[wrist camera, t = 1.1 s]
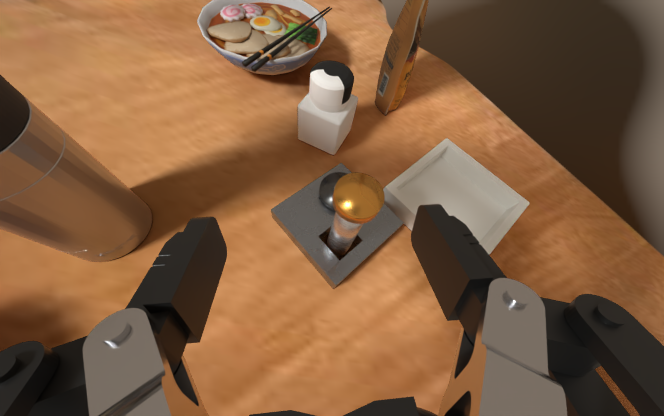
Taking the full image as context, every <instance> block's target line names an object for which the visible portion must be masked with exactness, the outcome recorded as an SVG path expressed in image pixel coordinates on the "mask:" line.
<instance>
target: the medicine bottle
mask: <svg viewBox="0 0 664 416" xmlns="http://www.w3.org/2000/svg"><path fill="white" fill-rule="evenodd" d="M353 82H354V76H353V73H352V72H351V70H350V69H349V68H348V67H347V66H346V65H344V64H342V63H340V62H336V61H322V62H319V63H317V64H316V65H315V66H314V67H313V68H312V69H311V71H310V89H309V93H308V94H307V95H306V96H305V98H304V99H303V100H302V101H301V102H300V103H299V105H298V139H299V140H301V141H303V142H305V143H308V144H310V145H312V146H314V147H316V148H318V149H321V150H323V151H325V152H327V153H329V154H332V155H335V154H336V152H337V150H338V149H339V147H340V146H341V144H342V143H343V141H344V139H345V138H346V136H347V135H348V133H349V132H350V130H351V126H352V122H353V118H354V114H355V110H356V106H357V102H358V97H357V96H354V95H352V94H351V91H352V86H353Z"/></svg>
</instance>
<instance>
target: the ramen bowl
mask: <svg viewBox="0 0 664 416" xmlns="http://www.w3.org/2000/svg"><path fill="white" fill-rule="evenodd" d="M329 8H330V7H328V8H326V9H325V10H323V11H322V12H320V13H319V11H318V10H317V9H316V8H314V7H313V6H311V5H309V4H308V3H306V2H305V1H303V0H212V1H211V2H210V3H208V4H207V5H206V6H204V7H203V8H202V11H201V13H200V15H199V18H198V20H197V22H198V24H199V27H200V29H201V32H202V34H203V36H204V38H205V39H206V40H207V41H208V42H209V44H210V45H211V46H212V47H213V48H214V49H216V50H217V51H218V52H219V53H220V54H221V55H222V56H224V57H225V58H226V59H227V60H229V61H230V62H231V63H232V64H234V65H235V66H237V67H239V68H242V69H244V70H247V71H250V72H253V73H257V74H267V75H276V74H282V73H288V72H292V71H294V70H296V69H298V68H299V67H301V66H303V65H305V64H306V63H307V62H309V61H310V59H311V58H312V57H313V56H314V54H315V53H316V52H317V50H318V49H319V47H320V46H321V44H322V43H323V41H324V40H325V38H326V36H327V22H326V20H325V19H324V18H323V16H324V15H325V14H326V13H327V12H329V11H330V10H331V9H332V8H331V9H329ZM327 9H329V10H328V11H326V10H327ZM324 11H326V12H325V13H324V14H322V13H323V12H324ZM321 14H322V15H321Z"/></svg>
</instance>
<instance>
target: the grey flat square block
mask: <svg viewBox="0 0 664 416" xmlns="http://www.w3.org/2000/svg"><path fill="white" fill-rule="evenodd" d="M349 173H351V172H350V171H349V170H348V169H347V168H346V167H345V166H344V165H343V164H342V163H340V164H339V165H337V166H336V167H334V168H333V169H331V170H330V171H328V172H327V173H325V174H324V175H322V176H321V177H319V178H318V179H316V180H315V181H313V182H312V183H310V184H309V185H307V186H306V187H304V188H303V189H301V190H300V191H298V192H297V193H295V194H294V195H292V196H291V197H289V198H288V199H286V200H285V201H283V202H282V203H280V204H279V205H277V206H276V207H274V208H273V209H271V213H272V217H273V219H274V220H275V221H276V222H277V223H278V225H279V226H280V227H281V228H282V229H283V230H284V232H285V233H286V234H287V235H288V236H289V238H290V239H291V240H292V241H293V242H294V243H295V245H296V246H297V247H298V248H299V249H300V250H301V252H302V253H303V254H304V255H305V256H306V258H307V259H308V260H309V261H310V262H311V263H312V265H313V266H314V267H315V268H316V269H317V271H318V272H319V273H320V274H321V275H322V276H323V278H324V279H325V280H326V281H327V282H328V283H329V285H330V286H331V287H332V288H333V289H334V288H335V287H336V286H337V285H338V284H340V283H341V282H342V281H343V280H344V279H345V278H346V277H347V276H348V275H349V274H350V273H351V272H353V271H354V270H355V269H356V268H357V267H358V266H359V265H360V264H361V263H362V262H363V261H364V260H366V259H367V258H368V257H369V256H370V255H371V254H372V253H373V252H374V251H375V250H376V249H377V248H379V247H380V246H381V245H382V244H383V243H384V242H385V241H386V240H387V239H388V238H389V237H390V236H391V235H393V234H394V233H395V232H396V231H397V230H398V229H399V228H400V227H401V226H402V225H403V223H404V222H403V221H402V220H401V219H400V218H399V217H397V216H396V215H395V214H394V213H393V212H392V211H391V210H390V209H389V208H388V207H387V206H386V205H385V204H383V206H382V208H381V209H380V211H379V212H378V214H377V215H376V217H375V218H374V219H372V220H371V221H369V222H367V223H363V225H362V227H361V229H360V230H359V232H358V234H357V236H356V237H355V239H354V242H355V243H356V244H357V246H356V247H355V248H354V249H353V250H352V251H350V252H349V253H348V254H347V255H346V256H345V257H344V258H342V259H341V260H339V259H338V258H337V257H336V256H335V255H334V254H333V253H332V251H331V250H330V249H329V248H328V247H327V246H326V245H325V244H324V243H323V241H322V240H321V239H322V238H324V237H325V236H326V235H327V234H329V233H330V230H331V226H332V223H333V220H334V216H335V213H336V211H335V209H334V207H333V203H332V198H333V193H334V189H335V185H336V183H337V182H338V180H339V179H340V178H341V177H343V176H344V175H347V174H349Z"/></svg>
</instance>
